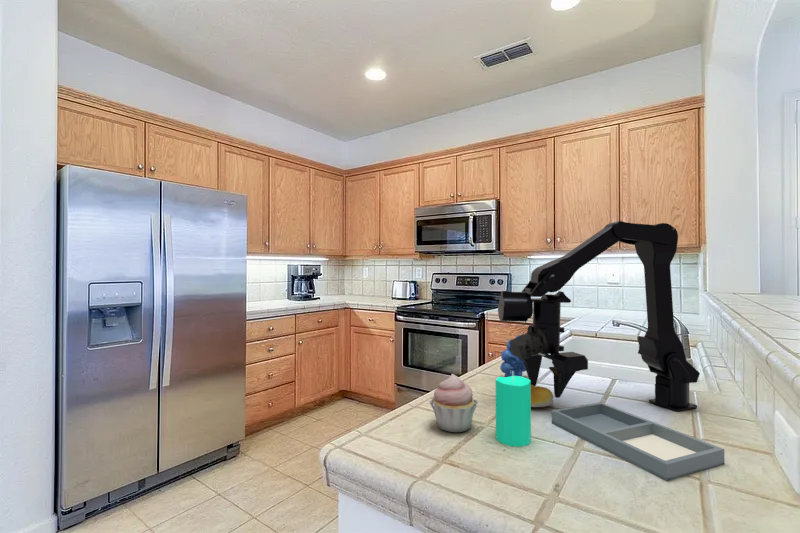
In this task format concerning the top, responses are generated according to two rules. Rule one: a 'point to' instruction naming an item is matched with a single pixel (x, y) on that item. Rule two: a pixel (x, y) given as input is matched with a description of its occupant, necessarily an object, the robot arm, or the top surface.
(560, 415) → the gray divided tray
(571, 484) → the top surface
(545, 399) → the bread roll
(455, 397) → the cupcake
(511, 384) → the candle
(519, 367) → the grapes
